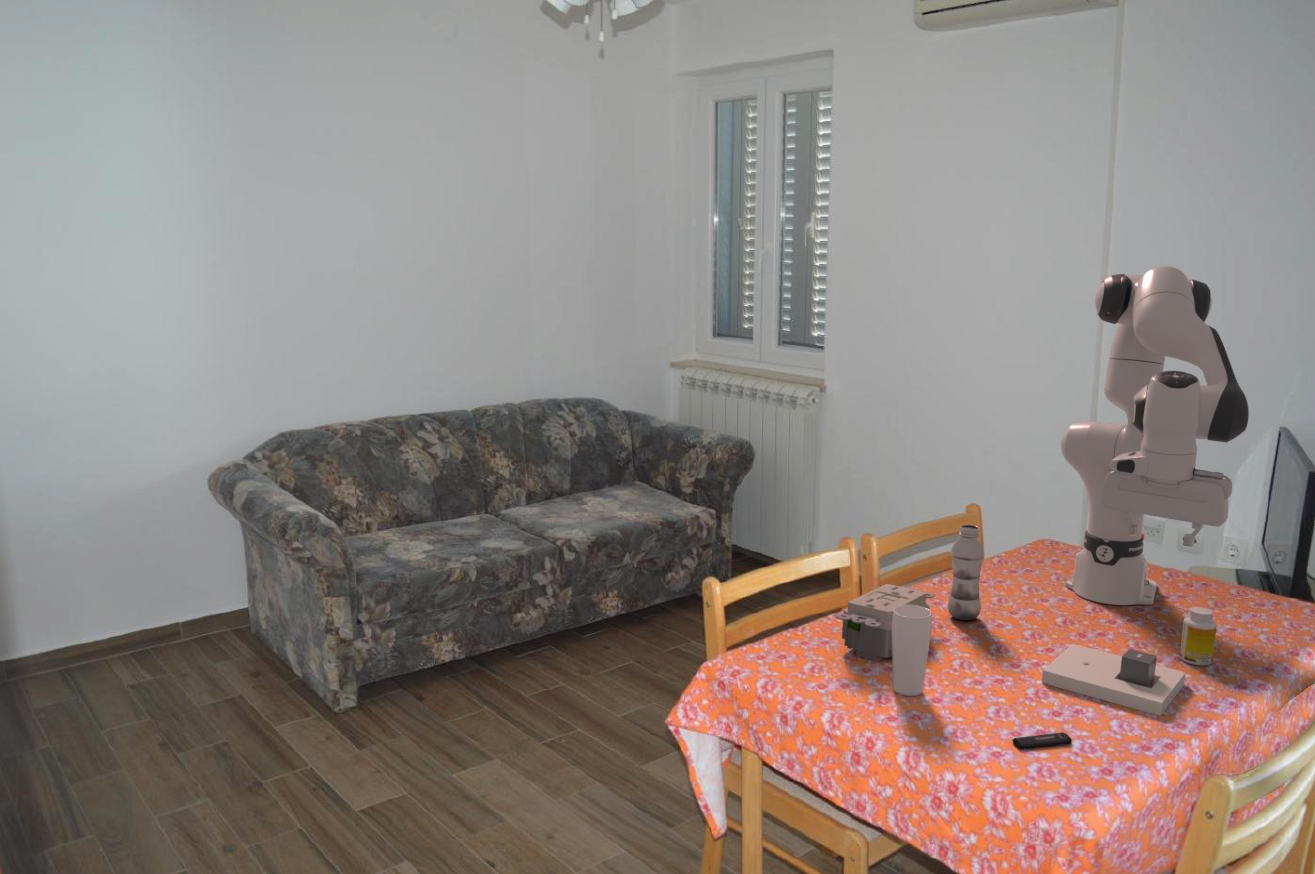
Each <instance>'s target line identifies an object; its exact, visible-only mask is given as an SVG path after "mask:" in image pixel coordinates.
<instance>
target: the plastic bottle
mask: <svg viewBox="0 0 1315 874" xmlns="http://www.w3.org/2000/svg"><path fill="white" fill-rule="evenodd" d="M979 530H980V529H979V526H977V525H974V524H973V525H972V524H962V525H960V527H959V532H958V533H959V534H958V535H959V536H960V537H959V538H958V539H957V540H956V541H955V542H954V543H953V545H952V547H951V550H950V555H951V565H952V581H951V583H952V584H951V589H950V595H949V596H948V597H949V598H948V603H947V609H948V610H947V611H948V613H949V615H950V616H951V617H952V618H954V619H957V620H961V621H962V620H963V621H972V620H976V619H977V618H978V617H979V616H980V613H981V609H982V605H981V597H980V577H981V570H982V565H983V561H984V556H985V552H984V547H983V546H982V544H981V543H980V541H979V539H978V538H979V537H980V534H979Z"/></svg>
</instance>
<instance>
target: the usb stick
mask: <svg viewBox="0 0 1315 874" xmlns="http://www.w3.org/2000/svg"><path fill="white" fill-rule="evenodd" d="M1072 741H1073V740H1072V738H1071V736H1069V734H1067V733H1065V732H1054V733H1053V732H1052V733H1047V734H1046V733H1045V734H1038V735H1037V734H1036V735H1029V736H1021V737H1020V736H1018V737H1014V738H1012V744H1013V745H1014V747H1016V748H1017V749H1018V750H1021V751H1022V750H1031V749H1040V748H1048V747H1056V746H1059V747H1060V746H1065V745H1067V746H1068V745H1070V744H1071V743H1072Z"/></svg>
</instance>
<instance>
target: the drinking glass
mask: <svg viewBox="0 0 1315 874" xmlns="http://www.w3.org/2000/svg"><path fill="white" fill-rule="evenodd" d="M932 614H933V613H932V611H931V610H929V609H927V608H925V607H922V606H917V605H899V606H896V607H895V608H894V609H893V615H892V656H891V658H892V689H893V690H894V692H896V693H897V694H899V695H902V696H906V697H916V696H920V695H921V694H922V693H923V691H924V686H925V685H924V684H925V676H926V668H927V662H928V656H929V649H930V643H931V635H932V623H933V622H932V621H933V620H932V616H933V615H932Z"/></svg>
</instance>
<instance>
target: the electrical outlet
mask: <svg viewBox="0 0 1315 874" xmlns="http://www.w3.org/2000/svg"><path fill="white" fill-rule="evenodd" d="M935 597H936V594H933V593H931V592H925V591H920V590H916V589H914V588H913V589H912V588H907V587H903V586H900V585H899V586H898V585H895V584H889V583H885V584H883V585H882V586H878V587H877V588H875V589H872V590H871V591H868V592H867V593H863V594H862V595H860V596H858V597H856V598H854V599H851V600H849V601H848V602H847V608H843V613H839V614H836V615H835V618H836V619H837V620H841V621H842V628H841V629H842V630H841V639H842V640H844V646H845V647H846V648H847V649H851V650H852V649H854V652H855V654H856V655H857V656H858V657H861V658H865V659H869V660H873V661H878V660H880V659H884V658H885V659H886V658H887V659H889V658H892V615H893V609H894V608H895V607H896V606H899V605H917V606H922V607H925V608H927V609H929V610H930V603H929V602H927V600H926V599H933V598H935ZM930 611H931V610H930Z"/></svg>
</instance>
